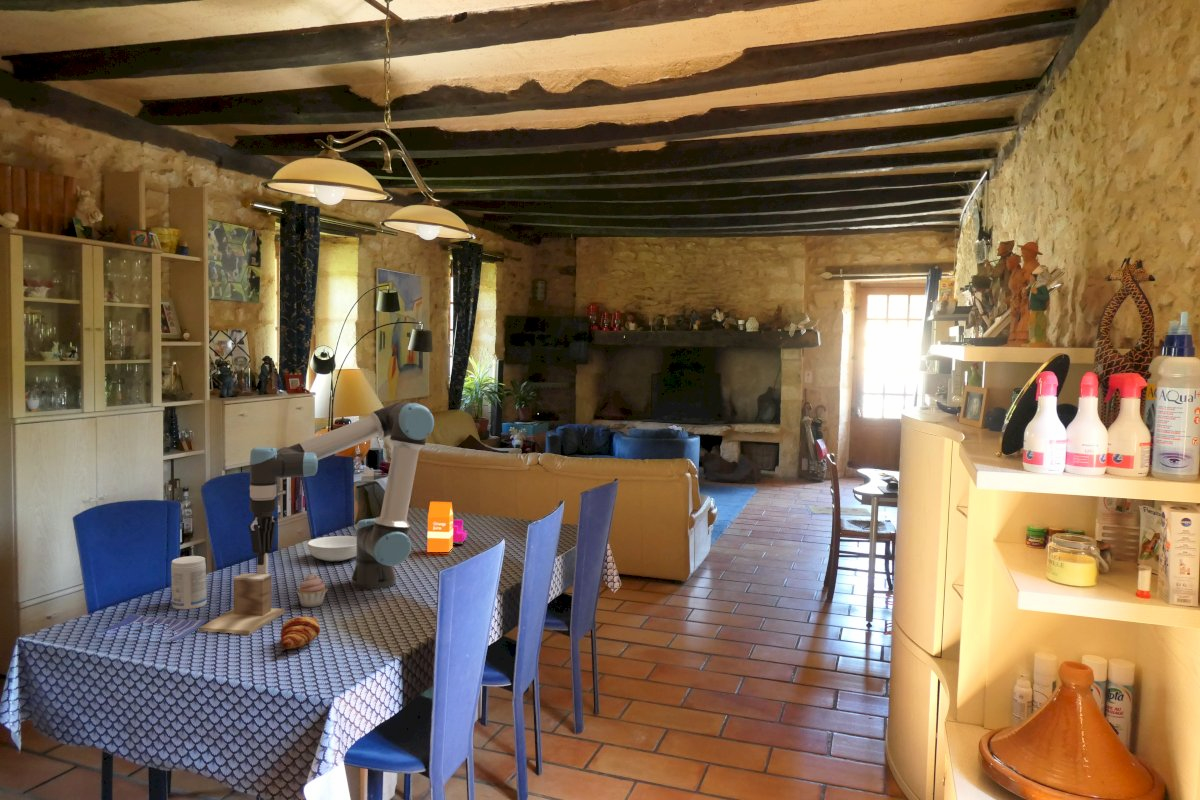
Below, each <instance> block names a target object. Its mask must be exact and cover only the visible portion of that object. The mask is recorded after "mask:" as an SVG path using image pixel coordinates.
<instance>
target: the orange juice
mask: <svg viewBox="0 0 1200 800" xmlns="http://www.w3.org/2000/svg"><path fill="white" fill-rule="evenodd" d="M453 523H454V511H453V504H452V501H430V502H429V509H428V515H427V550H426V551H427V552H449V551H450V550H451V549H452V548H453V549H454V546H453V545H454V544H453ZM453 549H452V550H453ZM452 550H451V551H452ZM451 551H450V552H451Z"/></svg>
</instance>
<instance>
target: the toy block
mask: <svg viewBox="0 0 1200 800" xmlns="http://www.w3.org/2000/svg"><path fill="white" fill-rule="evenodd" d="M466 537H467V538H468V531H467V530H464V519H454V518H453V542H463V541H464V540H465V538H466Z"/></svg>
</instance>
